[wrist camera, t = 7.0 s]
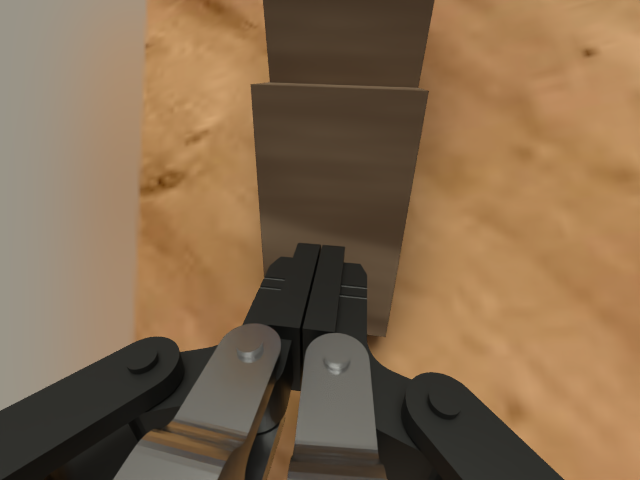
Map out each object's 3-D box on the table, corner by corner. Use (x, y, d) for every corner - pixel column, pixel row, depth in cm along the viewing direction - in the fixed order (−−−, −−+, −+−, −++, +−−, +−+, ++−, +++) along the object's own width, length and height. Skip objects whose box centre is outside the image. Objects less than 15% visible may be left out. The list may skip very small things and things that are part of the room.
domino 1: (291, 205, 19) (277, -27, 13) (388, 213, 19) (429, -27, 12) (282, 228, 18) (260, -31, 11) (390, 237, 17) (440, -31, 10)
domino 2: (278, 294, 18) (269, 82, 13) (383, 305, 18) (418, 87, 12) (267, 323, 16) (250, 84, 11) (385, 336, 15) (428, 90, 10)
